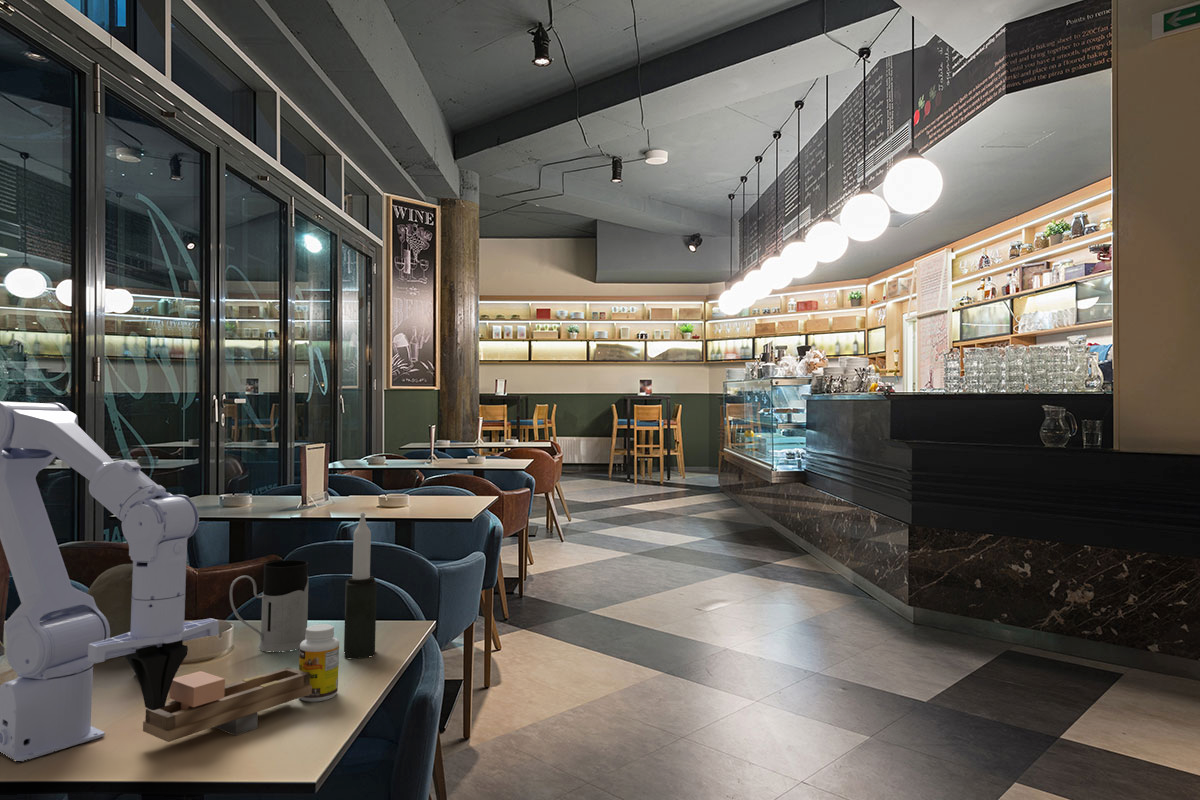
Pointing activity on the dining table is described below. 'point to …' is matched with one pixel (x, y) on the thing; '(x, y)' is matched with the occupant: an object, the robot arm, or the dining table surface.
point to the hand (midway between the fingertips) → (154, 707)
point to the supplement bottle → (320, 661)
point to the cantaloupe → (114, 597)
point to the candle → (360, 598)
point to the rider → (197, 689)
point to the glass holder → (281, 605)
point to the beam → (229, 706)
